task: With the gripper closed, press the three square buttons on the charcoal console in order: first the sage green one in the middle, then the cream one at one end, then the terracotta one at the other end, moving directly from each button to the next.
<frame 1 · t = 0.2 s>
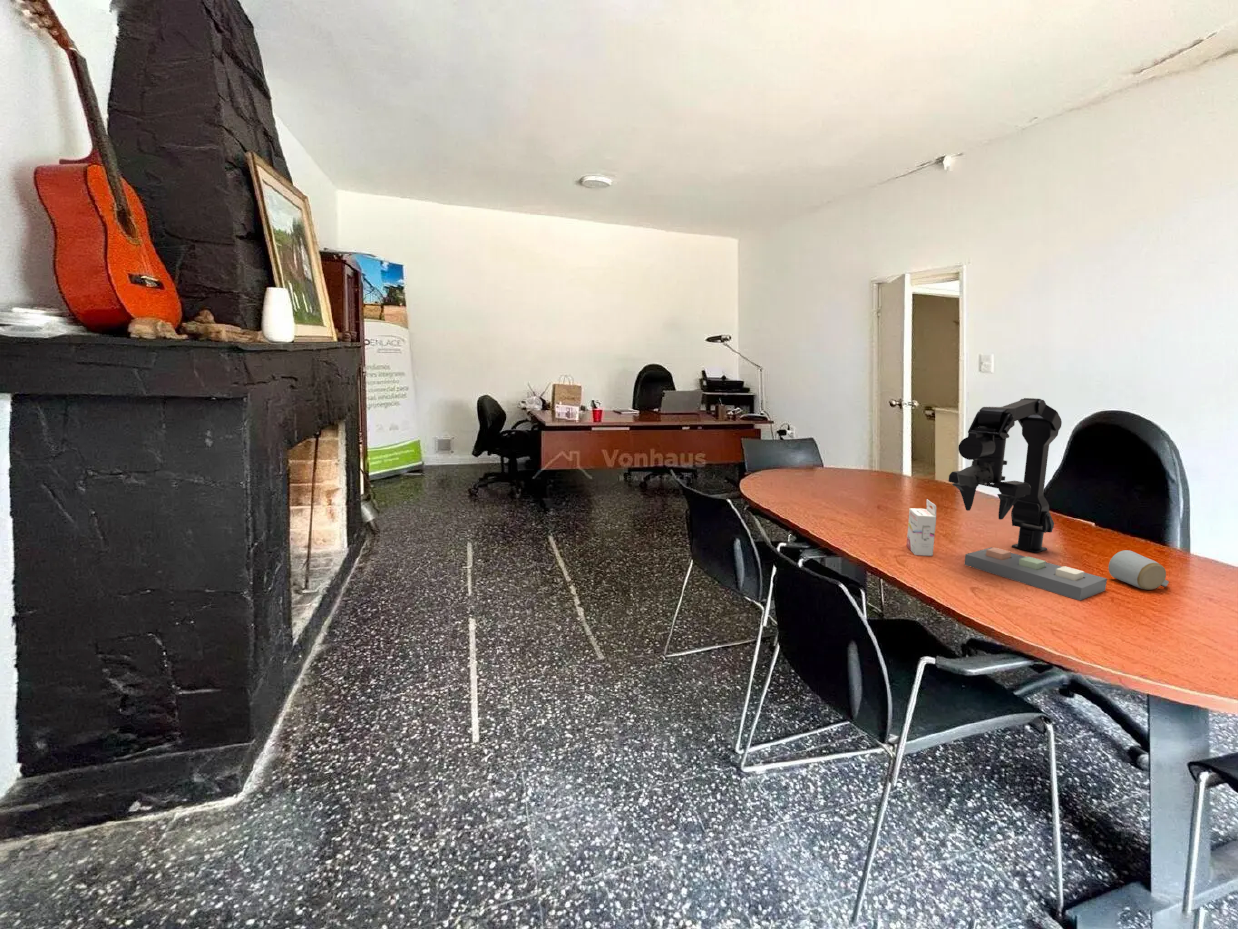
hand: (983, 514, 144), 14 cm above the table, tool pointing down, fingers open, 9 cm apart
cream button: (1069, 575, 132), point 3 cm above the table, slide at 0.0 cm
ceramic mug: (1139, 585, 135), on the table
sage button: (1032, 564, 139), point 3 cm above the table, slide at 0.0 cm
terracotta button: (998, 555, 146), point 3 cm above the table, slide at 0.0 cm
console: (1030, 576, 139), on the table
ink cartridge box: (918, 551, 159), on the table
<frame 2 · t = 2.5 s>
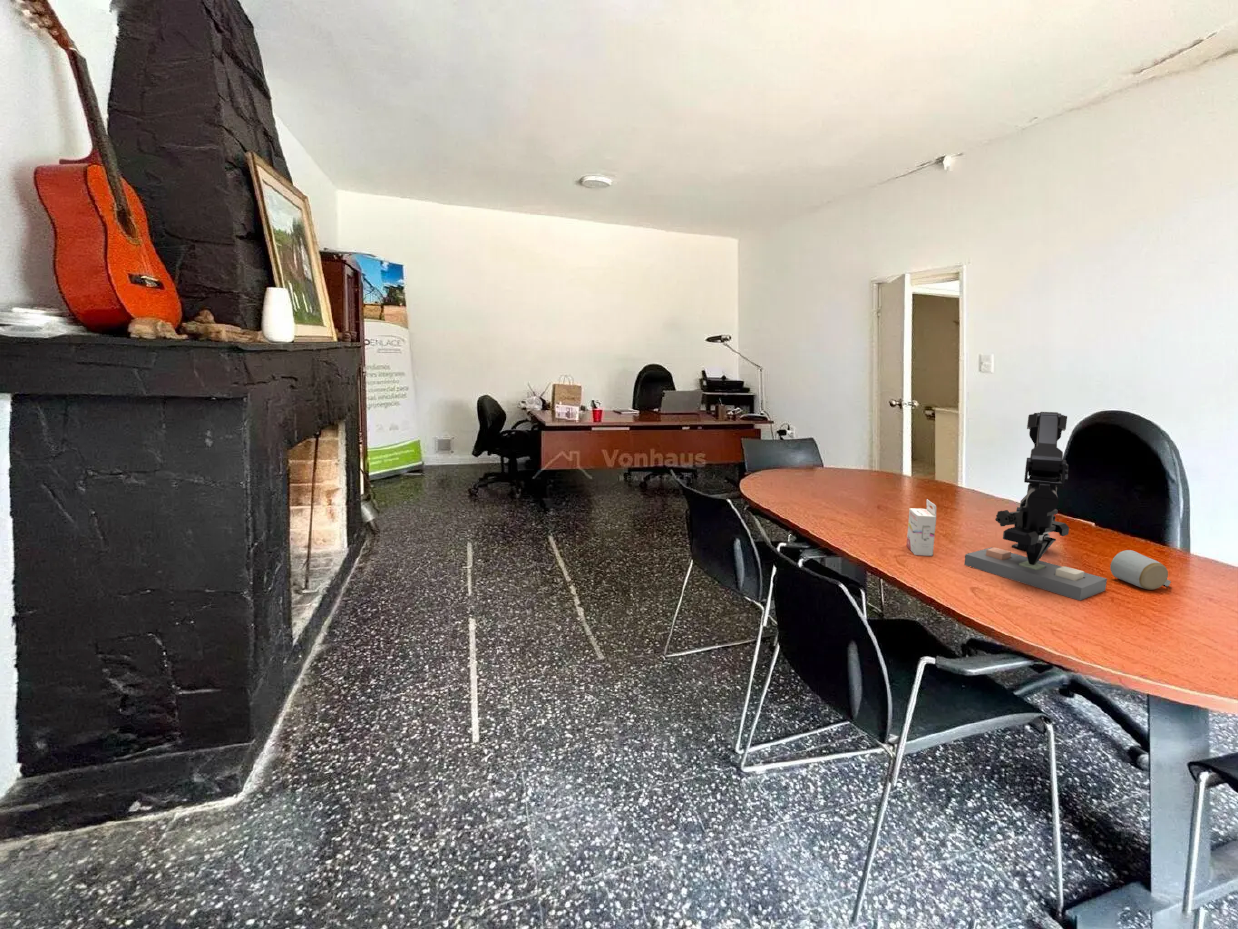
hand: (1032, 564, 139), 3 cm above the table, tool pointing down, fingers closed, pressing on sage button
sage button: (1031, 569, 139), point 2 cm above the table, slide at 1.2 cm, touching gripper
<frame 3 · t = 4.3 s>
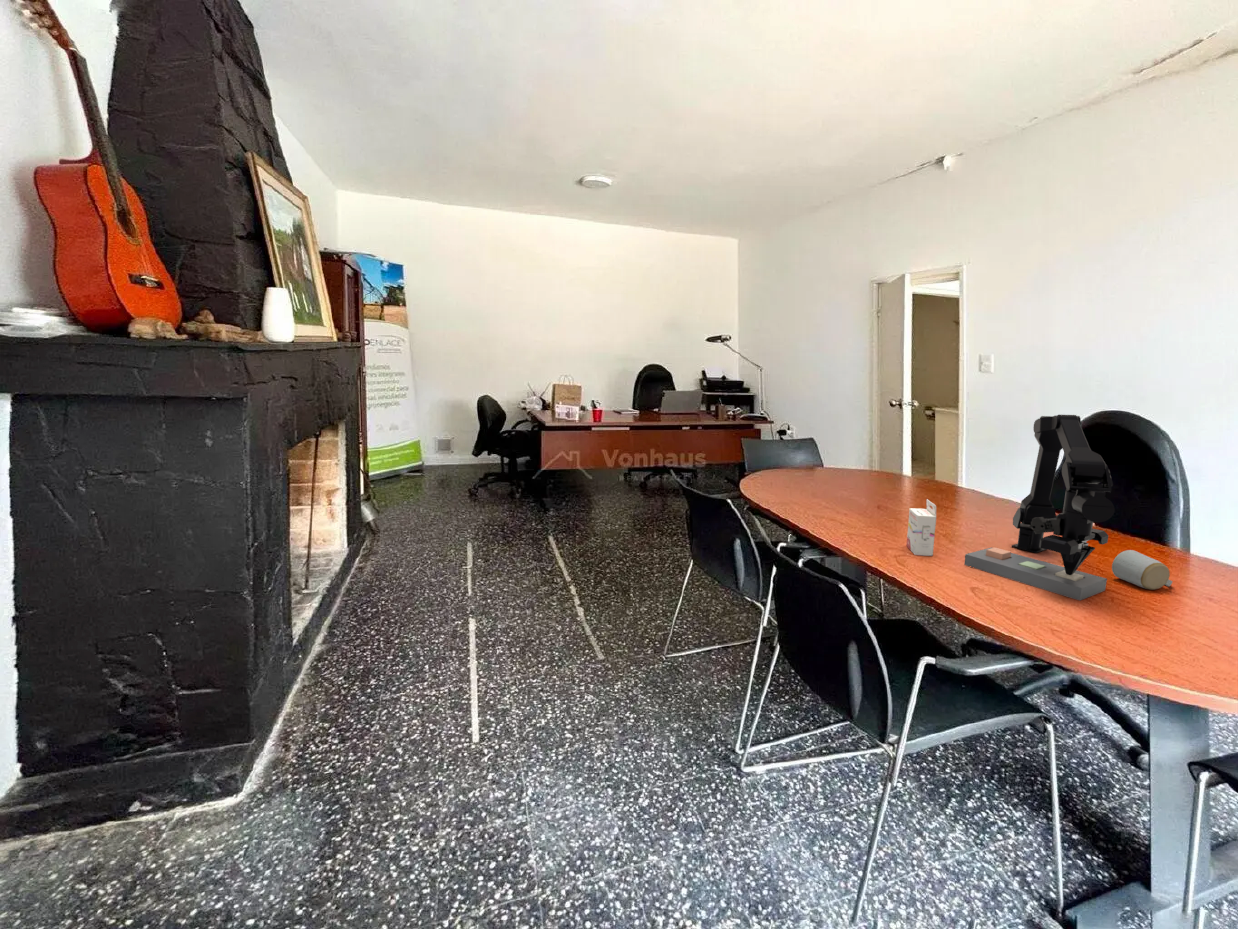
hand: (1069, 574, 132), 3 cm above the table, tool pointing down, fingers closed, pressing on cream button
cream button: (1068, 579, 132), point 2 cm above the table, slide at 1.1 cm, touching gripper
sage button: (1031, 569, 139), point 2 cm above the table, slide at 1.3 cm
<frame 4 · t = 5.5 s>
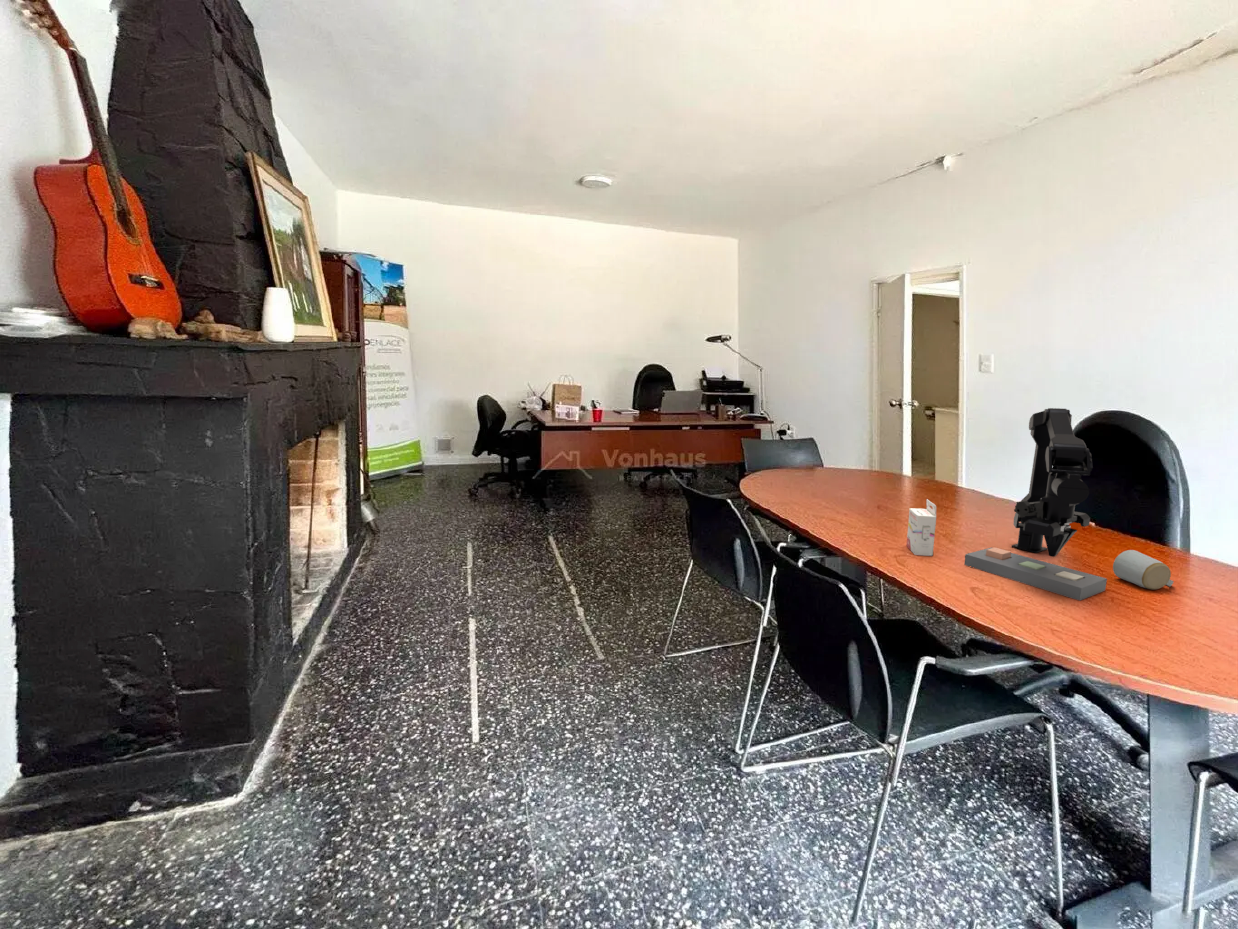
hand: (1052, 556, 135), 7 cm above the table, tool pointing down, fingers closed
cream button: (1068, 580, 132), point 2 cm above the table, slide at 1.3 cm
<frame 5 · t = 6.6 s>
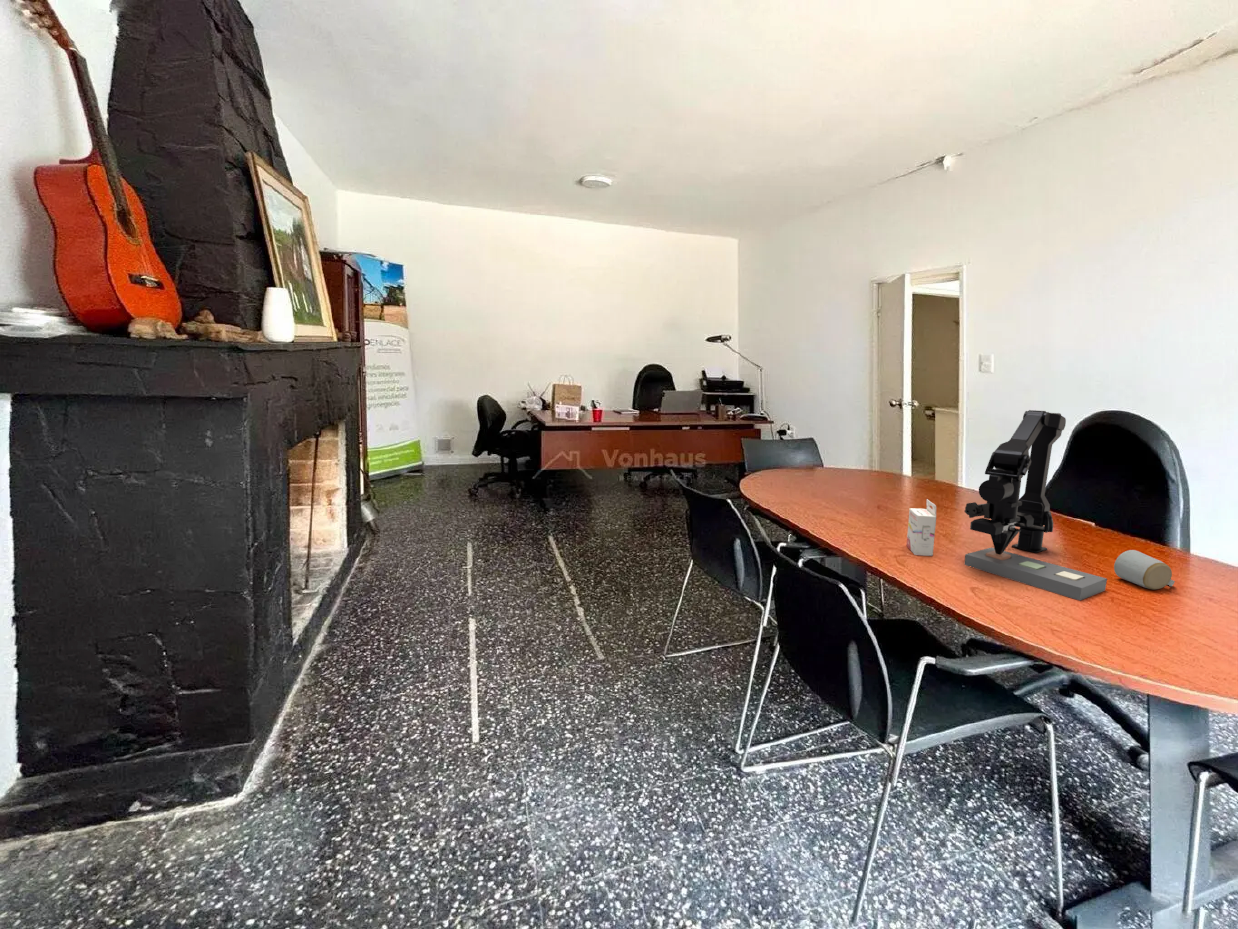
hand: (998, 553, 146), 4 cm above the table, tool pointing down, fingers closed, pressing on terracotta button
terracotta button: (997, 558, 146), point 2 cm above the table, slide at 0.9 cm, touching gripper
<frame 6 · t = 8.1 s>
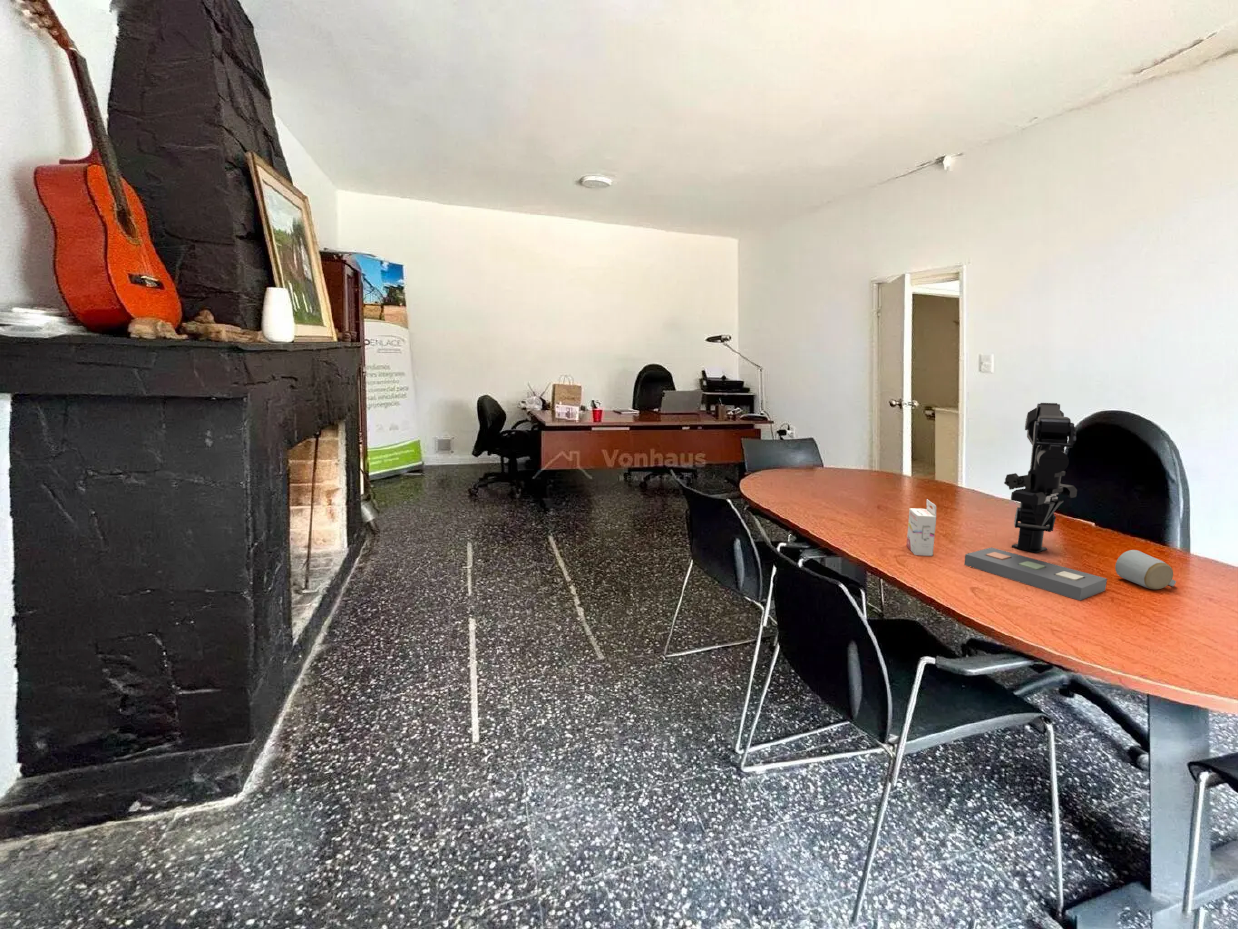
hand: (1040, 525, 143), 12 cm above the table, tool pointing down, fingers closed
terracotta button: (997, 559, 146), point 2 cm above the table, slide at 1.3 cm
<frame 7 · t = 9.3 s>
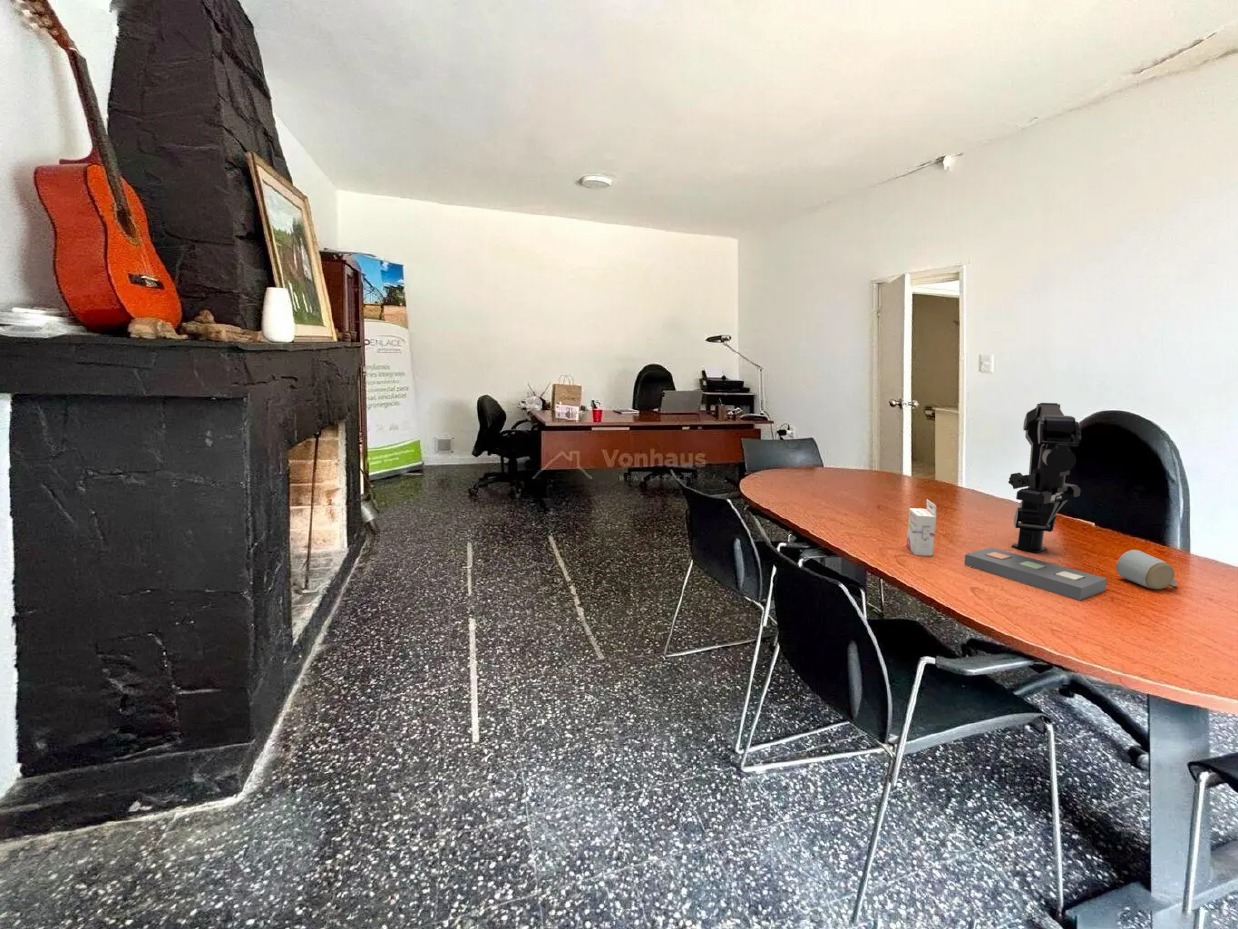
hand: (1044, 525, 143), 12 cm above the table, tool pointing down, fingers closed
at the end: sage button slide at 1.3 cm; cream button slide at 1.3 cm; terracotta button slide at 1.3 cm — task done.
